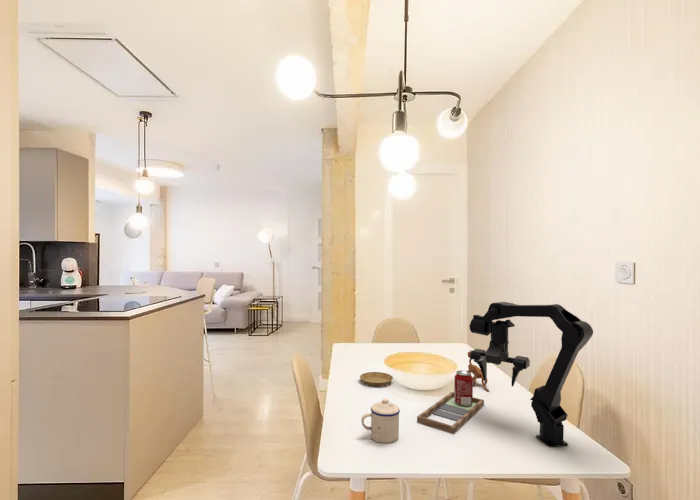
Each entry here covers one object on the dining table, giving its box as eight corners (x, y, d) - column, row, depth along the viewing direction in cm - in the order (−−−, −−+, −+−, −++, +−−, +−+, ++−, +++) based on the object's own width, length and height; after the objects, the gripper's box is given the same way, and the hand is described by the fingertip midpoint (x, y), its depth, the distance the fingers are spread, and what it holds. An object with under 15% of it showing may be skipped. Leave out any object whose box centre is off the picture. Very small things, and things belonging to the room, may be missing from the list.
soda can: (473, 408, 139) (474, 376, 139) (454, 406, 141) (455, 374, 141) (471, 401, 146) (471, 370, 146) (453, 399, 147) (453, 369, 147)
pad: (472, 412, 137) (472, 411, 137) (445, 404, 143) (445, 403, 143) (480, 405, 143) (480, 404, 143) (453, 398, 150) (453, 397, 150)
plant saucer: (370, 390, 157) (370, 384, 157) (354, 380, 170) (354, 374, 170) (399, 385, 164) (399, 379, 164) (381, 375, 177) (381, 370, 177)
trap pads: (461, 422, 128) (461, 421, 128) (432, 413, 134) (432, 413, 134) (472, 412, 136) (472, 411, 136) (444, 404, 143) (444, 404, 143)
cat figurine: (495, 393, 158) (497, 361, 158) (481, 394, 157) (483, 362, 156) (474, 377, 176) (475, 349, 175) (461, 378, 174) (462, 349, 174)
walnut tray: (453, 434, 119) (453, 427, 119) (417, 422, 127) (417, 416, 127) (483, 405, 143) (483, 400, 143) (451, 396, 151) (451, 391, 151)
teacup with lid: (395, 429, 122) (396, 393, 122) (402, 443, 113) (403, 404, 113) (359, 430, 120) (359, 394, 121) (363, 445, 111) (364, 405, 112)
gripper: (464, 337, 130) (463, 383, 130) (522, 346, 118) (521, 396, 118) (475, 333, 139) (474, 375, 138) (530, 340, 127) (529, 386, 127)
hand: (498, 383), depth 130 cm, fingers open, 9 cm apart
